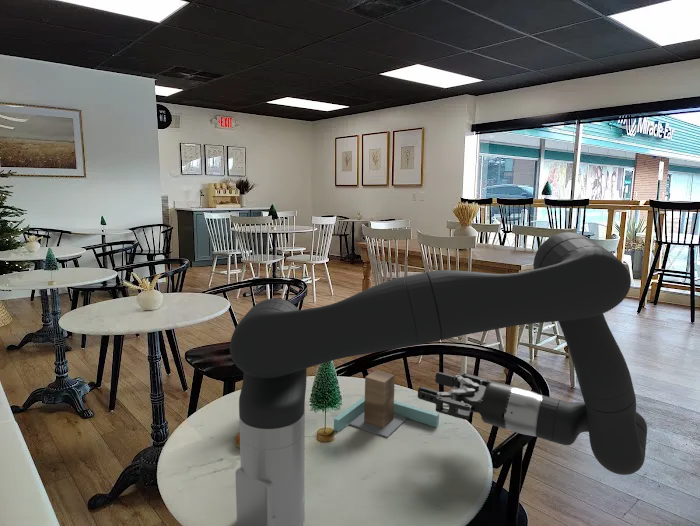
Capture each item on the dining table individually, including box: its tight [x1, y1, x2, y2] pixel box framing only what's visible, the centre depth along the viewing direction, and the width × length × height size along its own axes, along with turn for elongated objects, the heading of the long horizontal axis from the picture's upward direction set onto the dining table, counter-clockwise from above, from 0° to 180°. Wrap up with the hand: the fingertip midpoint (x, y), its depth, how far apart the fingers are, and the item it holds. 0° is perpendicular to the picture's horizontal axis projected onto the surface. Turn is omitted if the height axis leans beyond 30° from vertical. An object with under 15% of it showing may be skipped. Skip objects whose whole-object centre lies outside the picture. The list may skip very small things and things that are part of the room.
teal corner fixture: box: [333, 395, 440, 439], centre depth 96 cm, size 14×17×2 cm
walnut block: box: [364, 369, 396, 428], centre depth 98 cm, size 4×4×10 cm
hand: (427, 384), depth 91 cm, fingers open, 8 cm apart
